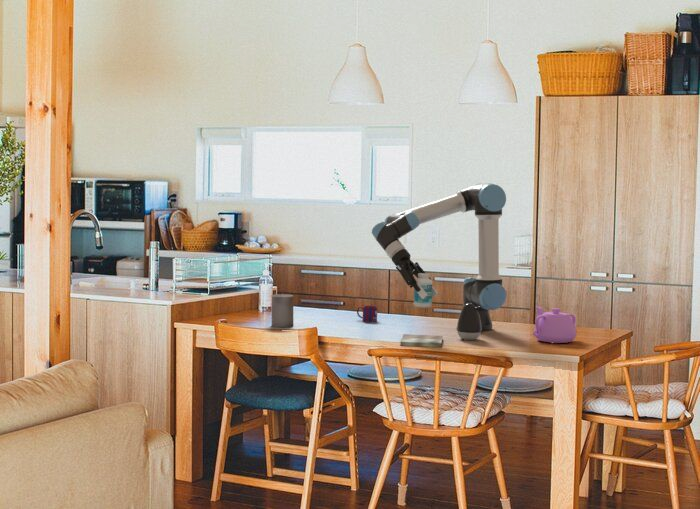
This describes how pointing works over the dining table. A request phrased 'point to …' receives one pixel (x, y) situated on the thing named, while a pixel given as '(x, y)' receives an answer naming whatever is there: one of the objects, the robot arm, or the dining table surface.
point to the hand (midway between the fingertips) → (430, 296)
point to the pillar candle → (282, 310)
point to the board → (421, 340)
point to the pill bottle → (427, 287)
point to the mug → (368, 313)
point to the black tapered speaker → (469, 322)
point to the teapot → (554, 326)
